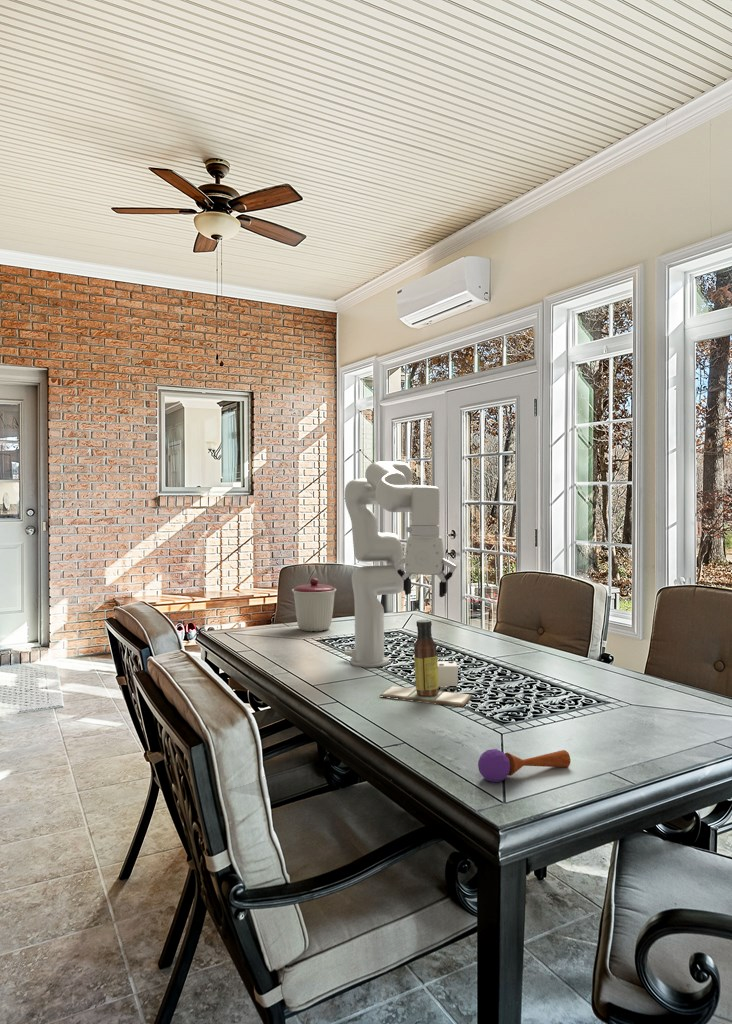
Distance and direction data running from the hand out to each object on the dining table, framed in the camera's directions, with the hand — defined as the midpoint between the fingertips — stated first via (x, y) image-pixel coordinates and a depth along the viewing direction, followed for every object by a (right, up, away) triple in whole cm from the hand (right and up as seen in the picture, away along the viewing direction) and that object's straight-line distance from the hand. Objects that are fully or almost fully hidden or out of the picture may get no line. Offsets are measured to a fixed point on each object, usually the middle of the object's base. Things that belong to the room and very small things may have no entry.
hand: (424, 595), depth 186 cm
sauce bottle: (+1, -27, 0) cm, 27 cm away
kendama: (+15, -29, -51) cm, 61 cm away
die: (+7, -27, +14) cm, 32 cm away
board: (0, -28, 0) cm, 28 cm away
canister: (-37, -26, +96) cm, 106 cm away
